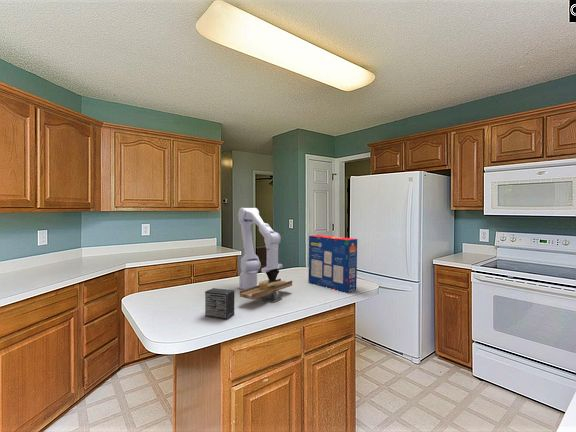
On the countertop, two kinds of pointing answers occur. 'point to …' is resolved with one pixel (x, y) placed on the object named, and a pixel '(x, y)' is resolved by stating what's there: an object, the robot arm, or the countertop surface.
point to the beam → (257, 293)
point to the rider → (266, 284)
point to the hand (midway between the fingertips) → (272, 284)
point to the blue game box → (333, 262)
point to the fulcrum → (271, 297)
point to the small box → (219, 303)
